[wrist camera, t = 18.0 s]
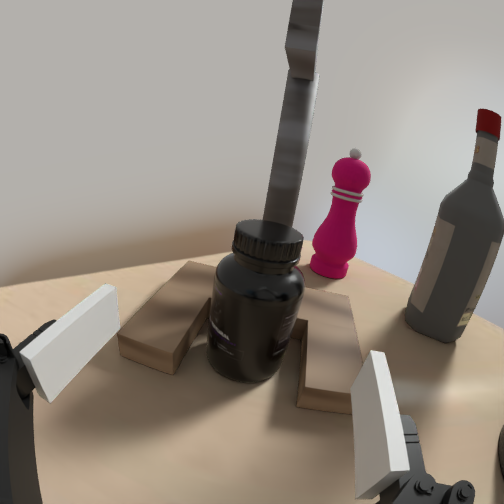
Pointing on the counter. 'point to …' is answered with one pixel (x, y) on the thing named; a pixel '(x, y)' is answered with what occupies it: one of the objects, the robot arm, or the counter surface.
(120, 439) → the counter surface
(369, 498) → the robot arm
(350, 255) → the pepper mill
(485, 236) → the liquor
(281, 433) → the counter surface
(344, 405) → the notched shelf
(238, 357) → the supplement bottle
